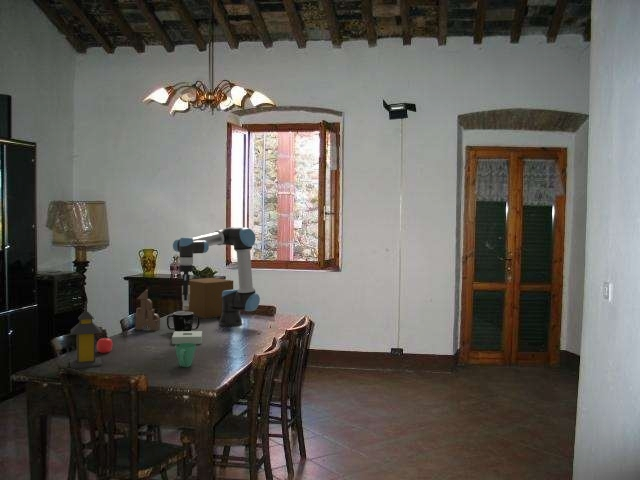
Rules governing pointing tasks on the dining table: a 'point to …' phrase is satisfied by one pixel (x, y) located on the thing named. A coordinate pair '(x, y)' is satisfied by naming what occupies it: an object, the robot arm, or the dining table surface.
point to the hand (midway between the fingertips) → (185, 305)
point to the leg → (188, 298)
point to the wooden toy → (141, 314)
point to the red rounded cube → (104, 345)
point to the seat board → (187, 337)
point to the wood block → (207, 296)
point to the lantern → (85, 342)
